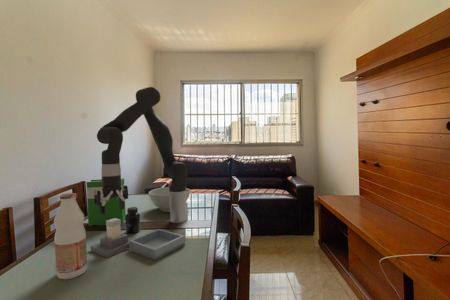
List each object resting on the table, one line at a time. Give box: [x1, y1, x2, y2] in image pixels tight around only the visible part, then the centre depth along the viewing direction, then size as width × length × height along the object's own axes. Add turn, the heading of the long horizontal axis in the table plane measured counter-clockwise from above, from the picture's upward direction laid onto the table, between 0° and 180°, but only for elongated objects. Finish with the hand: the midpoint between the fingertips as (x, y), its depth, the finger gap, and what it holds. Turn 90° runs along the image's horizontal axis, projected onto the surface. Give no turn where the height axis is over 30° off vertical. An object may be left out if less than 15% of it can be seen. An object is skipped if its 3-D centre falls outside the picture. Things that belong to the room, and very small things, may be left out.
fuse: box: [105, 218, 122, 240], centre depth 109 cm, size 4×4×10 cm
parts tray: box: [128, 228, 186, 261], centre depth 109 cm, size 16×16×4 cm
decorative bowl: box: [148, 186, 191, 213], centre depth 166 cm, size 27×27×12 cm
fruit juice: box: [53, 192, 88, 280], centre depth 89 cm, size 9×9×28 cm
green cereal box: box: [85, 178, 127, 227], centre depth 141 cm, size 18×7×24 cm, turn 98°
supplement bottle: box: [125, 206, 141, 235], centre depth 128 cm, size 7×7×12 cm
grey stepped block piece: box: [90, 232, 133, 258], centre depth 109 cm, size 14×12×5 cm
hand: (112, 211), depth 109 cm, fingers open, 8 cm apart
